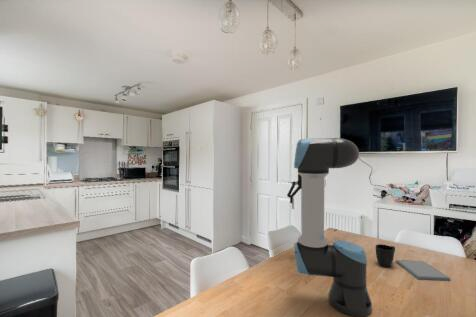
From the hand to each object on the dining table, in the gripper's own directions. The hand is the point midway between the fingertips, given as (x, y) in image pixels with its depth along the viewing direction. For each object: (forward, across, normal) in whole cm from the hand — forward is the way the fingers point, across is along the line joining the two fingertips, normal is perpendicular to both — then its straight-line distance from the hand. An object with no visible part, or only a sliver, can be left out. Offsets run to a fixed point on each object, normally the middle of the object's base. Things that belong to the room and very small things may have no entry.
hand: (304, 208), depth 139 cm
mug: (+27, -41, +12) cm, 50 cm away
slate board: (+27, -54, +18) cm, 63 cm away
